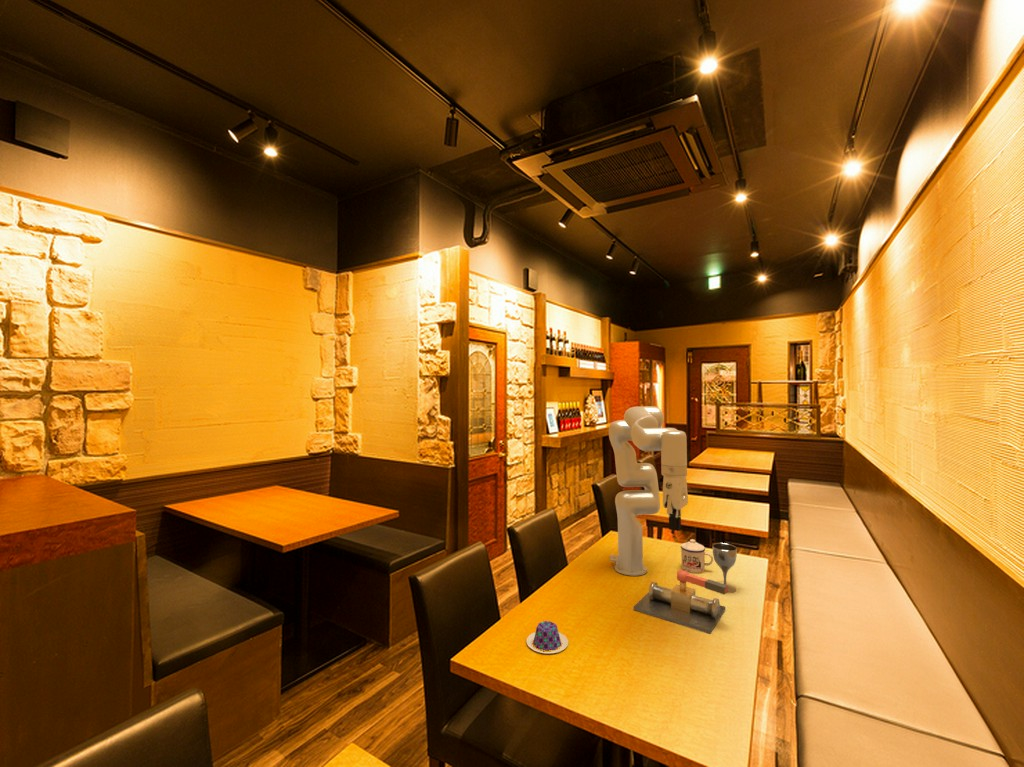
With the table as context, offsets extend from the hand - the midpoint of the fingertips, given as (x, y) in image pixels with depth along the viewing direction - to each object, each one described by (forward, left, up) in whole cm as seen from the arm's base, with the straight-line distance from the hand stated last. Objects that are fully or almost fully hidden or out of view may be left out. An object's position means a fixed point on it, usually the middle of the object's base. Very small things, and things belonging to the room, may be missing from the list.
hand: (675, 529), depth 140 cm
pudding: (-26, -33, -30) cm, 51 cm away
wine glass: (+6, +35, -29) cm, 46 cm away
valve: (-2, +9, -29) cm, 30 cm away
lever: (+5, +9, -19) cm, 22 cm away
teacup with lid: (-7, +46, -29) cm, 55 cm away
